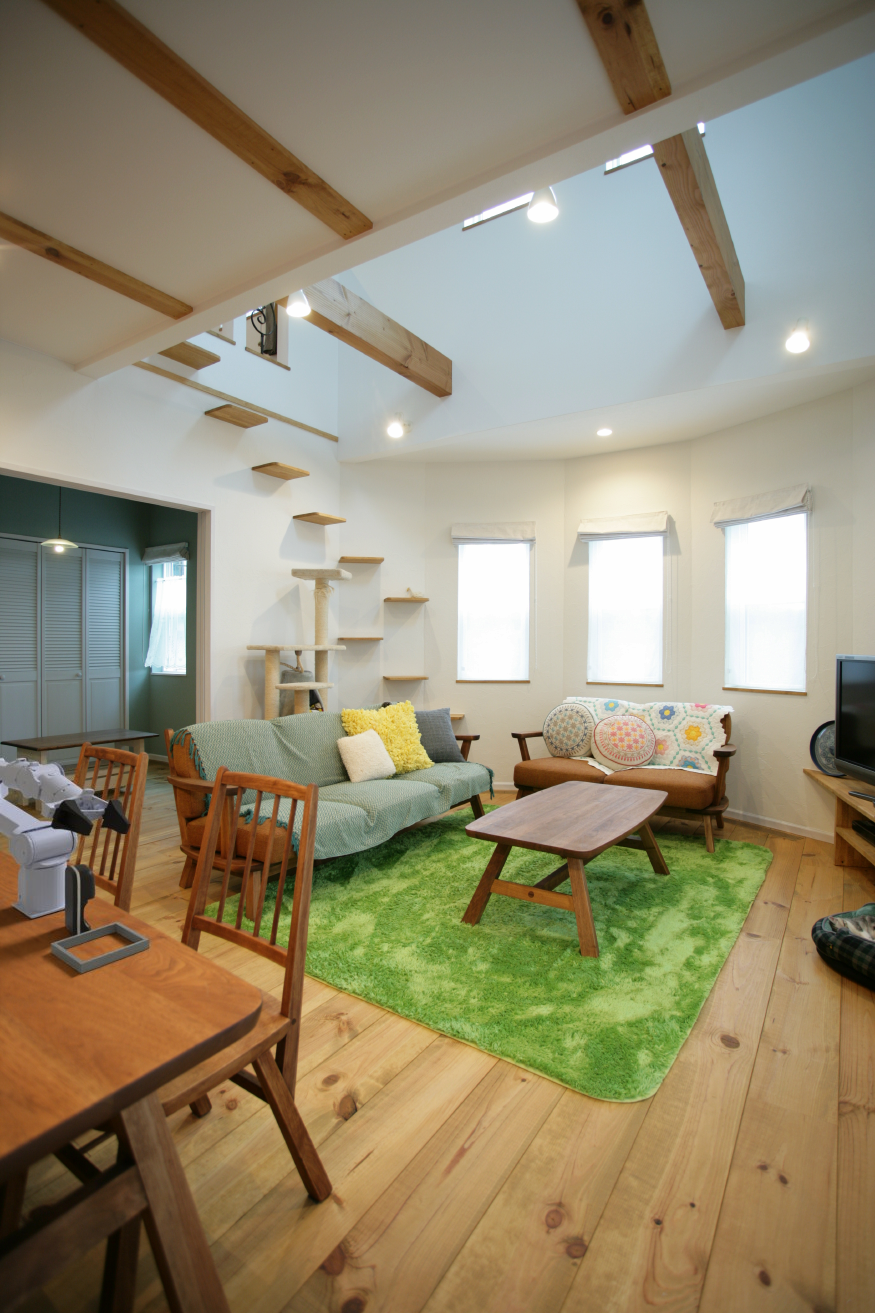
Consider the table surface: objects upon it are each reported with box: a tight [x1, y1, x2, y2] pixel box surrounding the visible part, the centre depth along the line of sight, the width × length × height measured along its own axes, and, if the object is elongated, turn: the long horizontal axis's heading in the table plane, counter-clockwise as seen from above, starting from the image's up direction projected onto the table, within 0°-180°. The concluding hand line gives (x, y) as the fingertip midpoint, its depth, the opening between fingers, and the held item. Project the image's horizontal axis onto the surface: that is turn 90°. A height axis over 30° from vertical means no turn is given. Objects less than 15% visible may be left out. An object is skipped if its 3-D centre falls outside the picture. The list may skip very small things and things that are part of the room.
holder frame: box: [50, 921, 150, 975], centre depth 111 cm, size 11×11×2 cm
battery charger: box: [64, 863, 96, 936], centre depth 119 cm, size 7×4×11 cm, turn 41°
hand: (109, 829), depth 118 cm, fingers open, 7 cm apart
